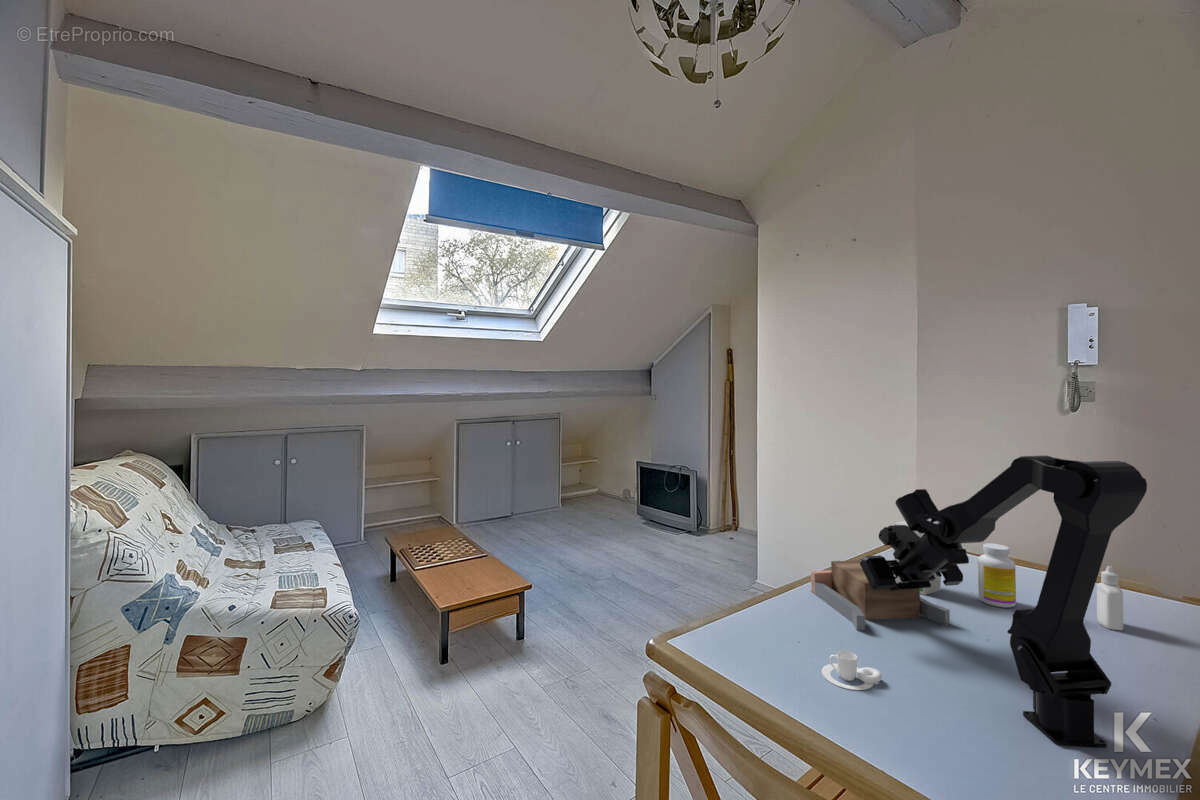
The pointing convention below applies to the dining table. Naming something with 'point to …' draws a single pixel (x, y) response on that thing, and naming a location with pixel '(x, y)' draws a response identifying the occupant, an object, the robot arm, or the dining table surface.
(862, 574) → the walnut box
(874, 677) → the teacup and saucer
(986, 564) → the supplement bottle
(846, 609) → the box pocket
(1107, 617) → the eye dropper bottle
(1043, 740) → the dining table surface
